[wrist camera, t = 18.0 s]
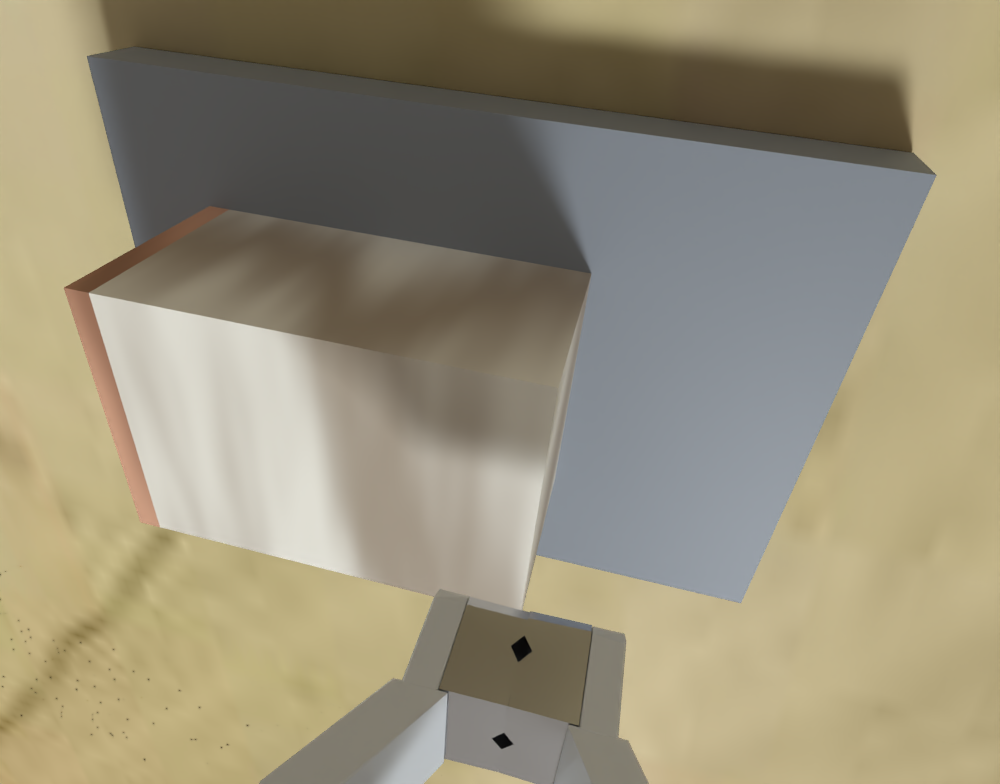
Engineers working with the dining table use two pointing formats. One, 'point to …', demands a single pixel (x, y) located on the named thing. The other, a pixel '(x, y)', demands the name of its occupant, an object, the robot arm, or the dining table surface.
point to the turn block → (338, 396)
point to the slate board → (574, 268)
